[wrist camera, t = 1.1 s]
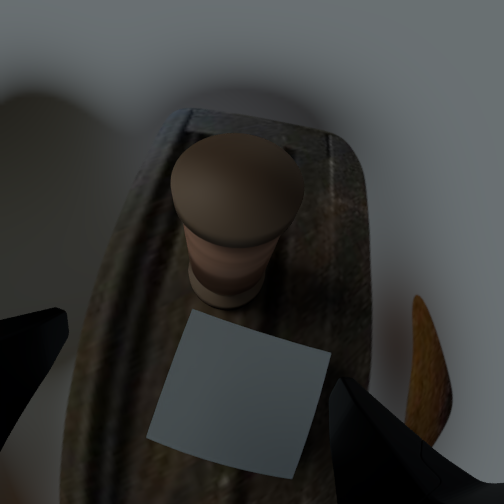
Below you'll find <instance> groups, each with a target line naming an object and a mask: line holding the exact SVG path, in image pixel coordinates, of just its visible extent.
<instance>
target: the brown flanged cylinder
mask: <svg viewBox="0 0 504 504" xmlns="http://www.w3.org/2000/svg"><path fill="white" fill-rule="evenodd" d="M171 190H172V195H173V201H174V206H175V209H176V212H177V214H178V216H179V218H180V220H181V221H182V222H183V223H184V229H185V235H186V241H187V246H188V252H189V258H190V262H189V278H190V282H191V286H192V288H193V290H194V292H195V293H196V295H197V296H198V297H199V298H200V299H201V300H202V301H203V302H204V303H206V304H208V305H209V306H211V307H214V308H217V309H223V310H231V309H237V308H240V307H243V306H245V305H247V304H248V303H250V302H251V301H252V300H253V299H254V298H255V297H256V296H257V294H258V293H259V291H260V289H261V287H262V285H263V282H264V279H265V269H266V266H267V264H268V262H269V260H270V257H271V255H272V253H273V251H274V248H275V246H276V244H277V241H278V239H279V237H280V235H281V234H282V233H283V232H285V231H286V230H287V229H288V227H289V226H290V225H291V224H292V222H293V220H294V218H295V216H296V214H297V212H298V210H299V208H300V206H301V203H302V200H303V196H304V181H303V177H302V174H301V171H300V169H299V167H298V166H297V164H296V163H295V161H294V160H293V159H292V157H291V156H290V155H289V154H288V153H287V152H285V151H284V150H283V149H282V148H280V147H279V146H277V145H276V144H274V143H272V142H270V141H268V140H266V139H263V138H260V137H257V136H253V135H248V134H240V133H227V134H219V135H215V136H211V137H208V138H205V139H203V140H201V141H199V142H197V143H195V144H194V145H192V146H191V147H189V148H188V149H187V150H186V151H185V152H184V153H183V154H182V155H181V156H180V158H179V159H178V160H177V162H176V164H175V166H174V169H173V171H172V176H171Z"/></svg>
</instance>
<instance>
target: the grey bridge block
mask: <svg viewBox="0 0 504 504" xmlns="http://www.w3.org/2000/svg"><path fill="white" fill-rule="evenodd" d="M330 356H331V353H330V352H326V351H322V350H319V349H315V348H311V347H308V346H304V345H301V344H297V343H294V342H290V341H287V340H284V339H280V338H277V337H274V336H271V335H267V334H264V333H261V332H258V331H255V330H252V329H249V328H246V327H243V326H240V325H237V324H234V323H231V322H228V321H225V320H222V319H219V318H216V317H213V316H211V315H208V314H205V313H202V312H200V311H197V310H194V309H192V312H191V314H190V317H189V319H188V322H187V325H186V327H185V330H184V333H183V335H182V338H181V341H180V343H179V346H178V349H177V351H176V354H175V357H174V359H173V362H172V365H171V368H170V370H169V373H168V376H167V379H166V382H165V384H164V387H163V390H162V393H161V396H160V398H159V401H158V404H157V407H156V410H155V413H154V416H153V419H152V422H151V425H150V428H149V431H148V434H147V437H146V438H148V439H151V440H153V441H155V442H158V443H160V444H163V445H165V446H168V447H171V448H173V449H176V450H179V451H182V452H184V453H187V454H190V455H193V456H196V457H199V458H202V459H206V460H209V461H212V462H216V463H219V464H223V465H226V466H230V467H234V468H238V469H242V470H246V471H251V472H255V473H260V474H265V475H270V476H276V477H282V478H288V479H292V478H293V475H294V472H295V470H296V467H297V464H298V462H299V459H300V456H301V453H302V450H303V448H304V445H305V442H306V439H307V436H308V433H309V430H310V427H311V423H312V420H313V417H314V414H315V411H316V407H317V404H318V400H319V397H320V394H321V390H322V386H323V383H324V379H325V375H326V372H327V368H328V364H329V360H330Z"/></svg>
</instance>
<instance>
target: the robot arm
mask: <svg viewBox="0 0 504 504" xmlns="http://www.w3.org/2000/svg"><path fill="white" fill-rule="evenodd" d="M68 335H69V329H68V320H67V313H66V311H64V310H62V309H60V308H57V307H54V308H50V309H45V310H41V311H37V312H33V313H28V314H24V315H20V316H16V317H11V318H7V319H3V320H0V451H1V449H2V447H3V446H4V444H5V442H6V440H7V438H8V436H9V435H10V433H11V431H12V429H13V428H14V426H15V424H16V422H17V421H18V419H19V417H20V416H21V414H22V412H23V411H24V409H25V408H26V406H27V404H28V403H29V401H30V399H31V398H32V396H33V395H34V393H35V392H36V390H37V389H38V387H39V386H40V384H41V382H42V381H43V380H44V378H45V377H46V375H47V374H48V372H49V370H50V369H51V367H52V365H53V363H54V361H55V360H56V358H57V356H58V354H59V352H60V350H61V349H62V347H63V345H64V343H65V342H66V340H67V338H68ZM329 428H330V446H331V454H332V461H333V469H334V477H335V485H336V494H337V503H338V504H504V483H497V484H494V483H486V482H482V481H479V480H478V479H476V478H474V477H473V476H471V475H469V474H468V473H467V472H465V471H464V470H462V469H461V468H459V467H458V466H456V465H455V464H453V463H452V462H450V461H449V460H448V459H446V458H445V457H443V456H442V455H441V454H439V453H438V452H437V451H436V450H434V449H433V448H432V447H431V446H429V445H428V444H427V443H426V442H425V441H424V440H422V439H421V438H420V437H419V436H418V435H417V434H415V433H414V432H413V431H412V430H411V429H410V428H408V427H407V426H406V425H405V424H404V423H403V422H401V421H400V420H399V419H398V418H397V417H396V416H395V415H393V414H392V413H391V412H390V411H389V410H388V409H387V408H385V407H384V406H383V405H382V404H381V403H380V402H379V401H378V400H376V399H375V398H374V397H373V396H372V395H371V394H370V393H369V392H367V391H366V390H365V389H364V388H363V387H362V386H361V385H360V384H359V383H357V382H356V381H355V380H354V379H353V378H348V377H341V378H339V379H338V381H337V383H336V385H335V387H334V389H333V391H332V392H331V394H330V397H329Z"/></svg>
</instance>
